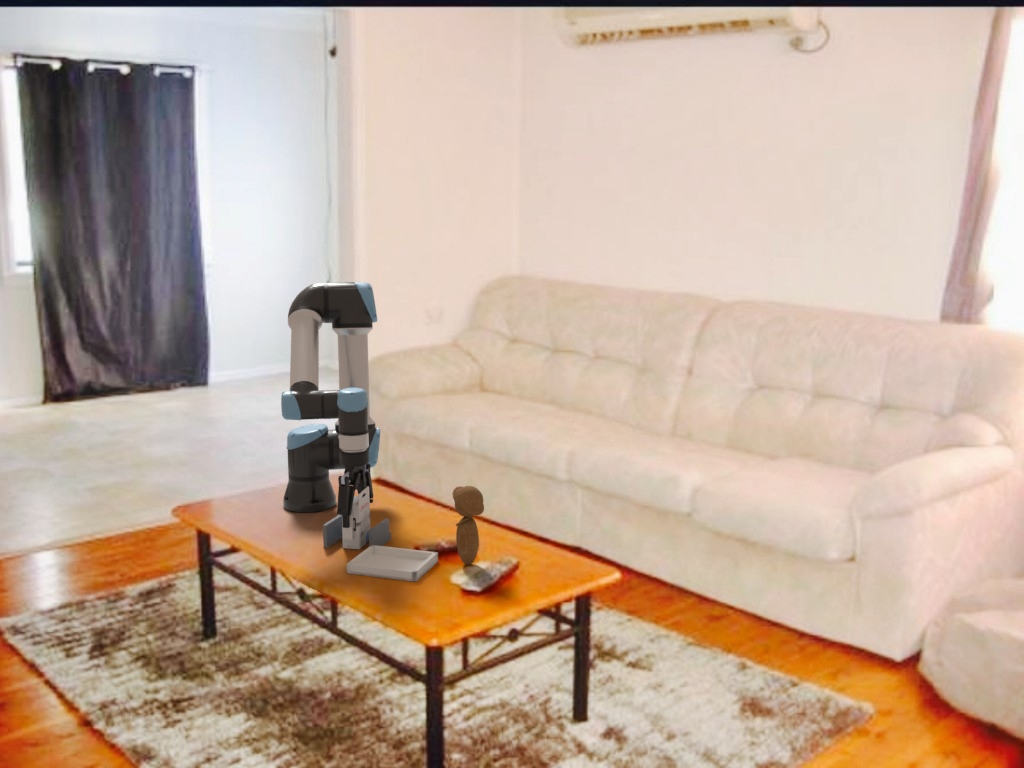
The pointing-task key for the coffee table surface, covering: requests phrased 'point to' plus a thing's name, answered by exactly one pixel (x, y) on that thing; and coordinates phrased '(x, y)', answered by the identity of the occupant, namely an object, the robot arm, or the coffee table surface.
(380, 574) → the tray
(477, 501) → the figurine
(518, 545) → the coffee table surface
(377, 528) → the bay
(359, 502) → the ink box
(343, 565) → the coffee table surface
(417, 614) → the coffee table surface
